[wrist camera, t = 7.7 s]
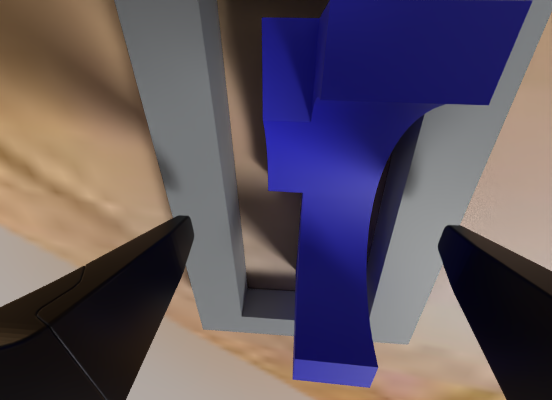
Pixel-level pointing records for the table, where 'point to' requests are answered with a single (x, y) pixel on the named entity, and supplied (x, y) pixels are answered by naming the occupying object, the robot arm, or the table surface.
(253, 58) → the table surface
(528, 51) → the gray rectangular open frame
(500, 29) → the blue curved bracket
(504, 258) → the robot arm
